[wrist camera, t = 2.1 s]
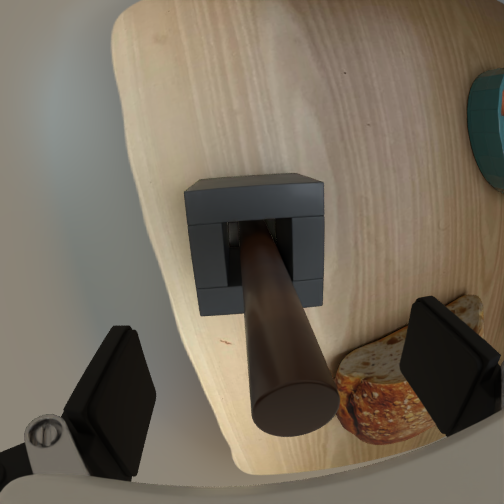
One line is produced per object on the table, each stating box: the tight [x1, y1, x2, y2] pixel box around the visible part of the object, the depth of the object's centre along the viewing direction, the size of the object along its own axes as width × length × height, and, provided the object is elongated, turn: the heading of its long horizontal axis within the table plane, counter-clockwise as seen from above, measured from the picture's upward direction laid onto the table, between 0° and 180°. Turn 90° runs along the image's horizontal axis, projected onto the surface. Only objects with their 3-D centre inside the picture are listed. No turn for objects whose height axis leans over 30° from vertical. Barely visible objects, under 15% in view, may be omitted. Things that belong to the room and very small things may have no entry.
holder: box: [184, 173, 324, 316], centre depth 22 cm, size 8×8×8 cm
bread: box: [334, 295, 484, 445], centre depth 28 cm, size 20×18×10 cm
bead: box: [501, 90, 504, 116], centre depth 20 cm, size 3×3×3 cm
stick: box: [238, 219, 340, 437], centre depth 16 cm, size 2×2×20 cm
